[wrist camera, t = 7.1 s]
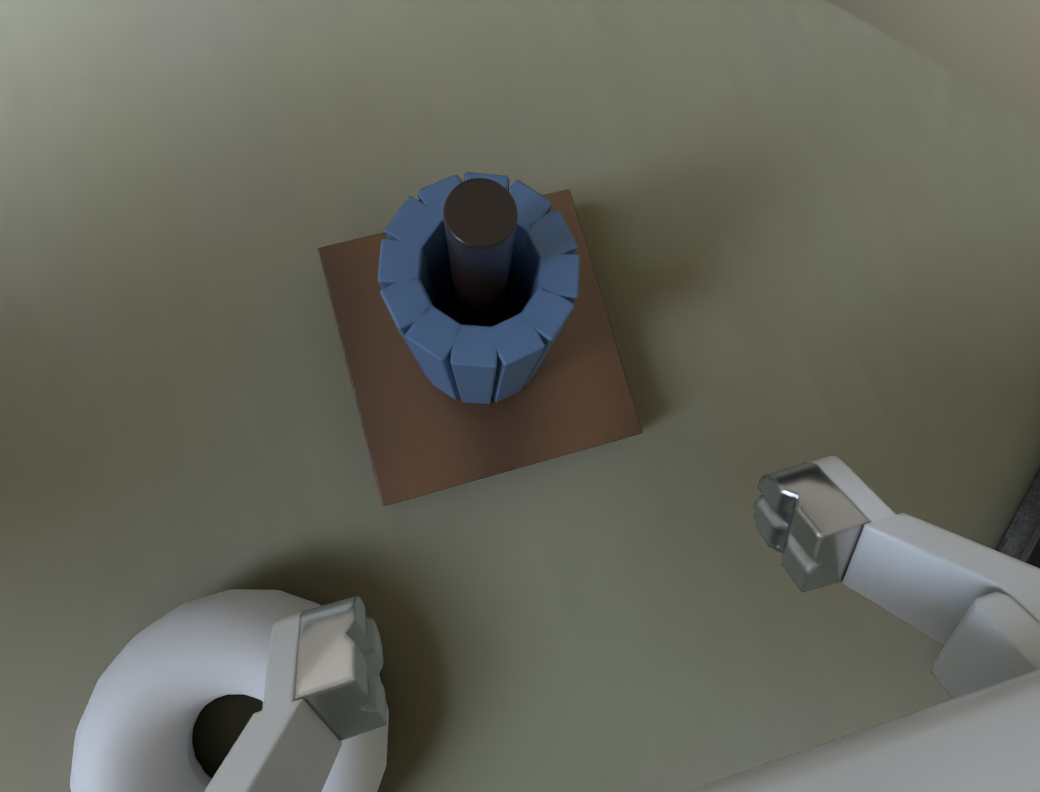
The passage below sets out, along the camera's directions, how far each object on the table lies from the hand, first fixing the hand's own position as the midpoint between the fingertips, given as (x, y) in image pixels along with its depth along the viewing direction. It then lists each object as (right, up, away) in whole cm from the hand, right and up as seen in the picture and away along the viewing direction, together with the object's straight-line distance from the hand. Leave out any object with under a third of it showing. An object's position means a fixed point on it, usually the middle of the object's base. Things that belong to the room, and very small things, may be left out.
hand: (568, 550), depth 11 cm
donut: (-10, -9, +10) cm, 17 cm away
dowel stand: (-3, +5, +12) cm, 13 cm away
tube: (-2, +5, +10) cm, 12 cm away
